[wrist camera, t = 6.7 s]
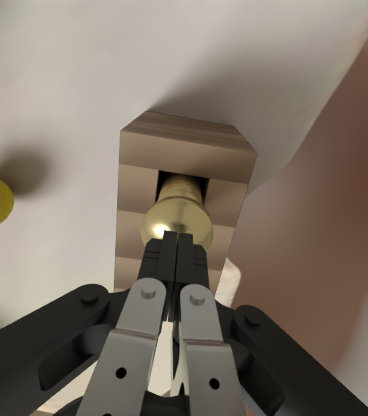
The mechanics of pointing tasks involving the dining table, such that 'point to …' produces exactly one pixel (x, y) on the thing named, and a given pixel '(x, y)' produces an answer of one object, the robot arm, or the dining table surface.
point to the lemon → (5, 201)
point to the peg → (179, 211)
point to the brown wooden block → (184, 164)
